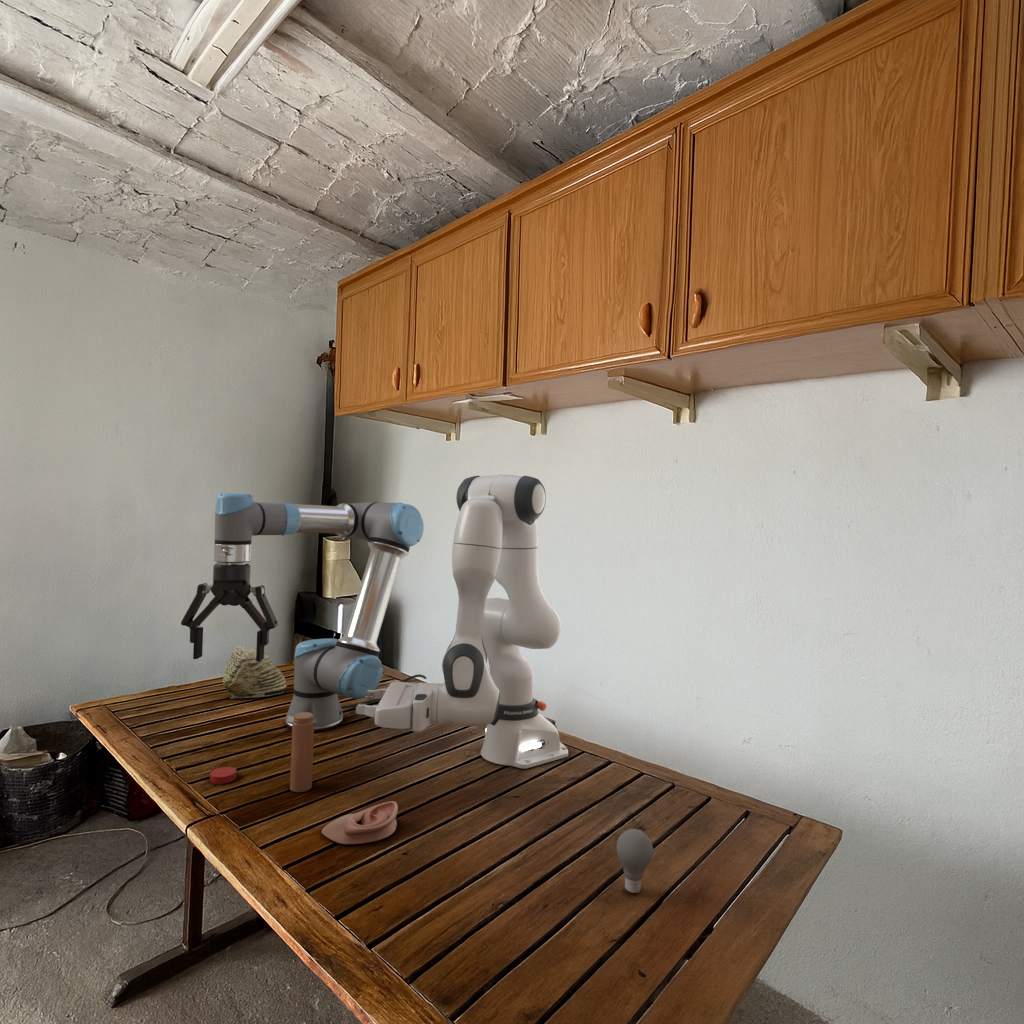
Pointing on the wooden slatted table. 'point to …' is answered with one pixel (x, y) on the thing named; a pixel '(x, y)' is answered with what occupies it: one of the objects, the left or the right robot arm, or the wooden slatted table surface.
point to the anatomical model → (364, 825)
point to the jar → (302, 752)
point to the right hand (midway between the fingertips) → (361, 701)
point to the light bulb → (634, 857)
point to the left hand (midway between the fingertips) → (228, 658)
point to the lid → (223, 775)
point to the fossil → (252, 675)
